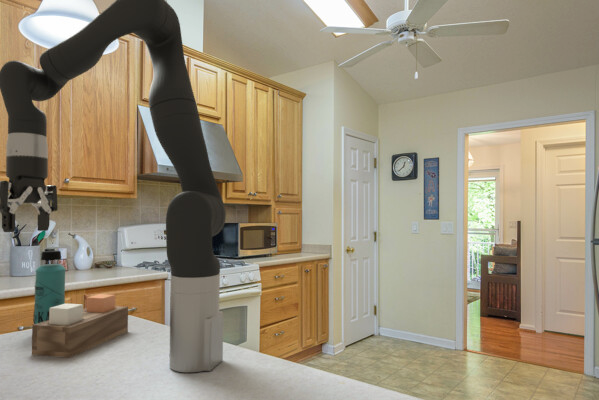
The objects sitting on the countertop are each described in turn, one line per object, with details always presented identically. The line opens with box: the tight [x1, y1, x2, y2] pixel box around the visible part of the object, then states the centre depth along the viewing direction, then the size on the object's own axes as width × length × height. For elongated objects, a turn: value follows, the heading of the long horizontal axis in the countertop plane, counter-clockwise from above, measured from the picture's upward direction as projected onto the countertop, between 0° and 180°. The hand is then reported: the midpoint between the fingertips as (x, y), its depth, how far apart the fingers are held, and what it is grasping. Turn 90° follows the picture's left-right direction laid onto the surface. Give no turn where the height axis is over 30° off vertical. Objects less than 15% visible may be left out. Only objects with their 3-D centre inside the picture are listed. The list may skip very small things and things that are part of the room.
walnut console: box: [31, 305, 129, 359], centre depth 92 cm, size 9×19×6 cm, turn 169°
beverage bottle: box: [32, 249, 66, 325], centre depth 98 cm, size 6×7×20 cm
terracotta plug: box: [86, 293, 116, 313], centre depth 98 cm, size 4×4×5 cm
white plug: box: [49, 302, 84, 325], centre depth 87 cm, size 4×4×5 cm
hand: (27, 231), depth 88 cm, fingers open, 8 cm apart
